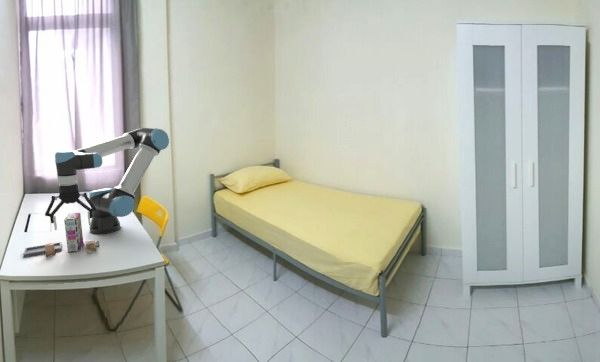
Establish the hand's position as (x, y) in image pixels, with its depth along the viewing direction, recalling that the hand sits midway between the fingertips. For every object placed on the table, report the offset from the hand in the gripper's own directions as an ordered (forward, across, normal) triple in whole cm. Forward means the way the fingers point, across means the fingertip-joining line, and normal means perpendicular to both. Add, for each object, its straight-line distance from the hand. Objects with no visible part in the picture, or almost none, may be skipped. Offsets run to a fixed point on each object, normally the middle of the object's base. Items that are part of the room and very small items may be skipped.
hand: (73, 226), depth 163 cm
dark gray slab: (+11, -8, 0) cm, 14 cm away
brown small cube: (+11, +10, +3) cm, 15 cm away
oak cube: (+11, -6, +6) cm, 14 cm away
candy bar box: (+11, 0, 0) cm, 11 cm away
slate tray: (+11, +13, -4) cm, 17 cm away
